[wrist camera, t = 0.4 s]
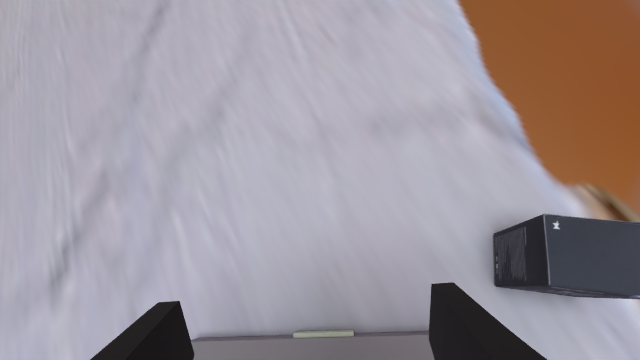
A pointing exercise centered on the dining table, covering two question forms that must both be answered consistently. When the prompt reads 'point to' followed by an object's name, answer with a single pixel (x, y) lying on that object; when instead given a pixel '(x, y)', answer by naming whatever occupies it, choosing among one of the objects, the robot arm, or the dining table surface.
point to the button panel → (317, 346)
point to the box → (570, 257)
